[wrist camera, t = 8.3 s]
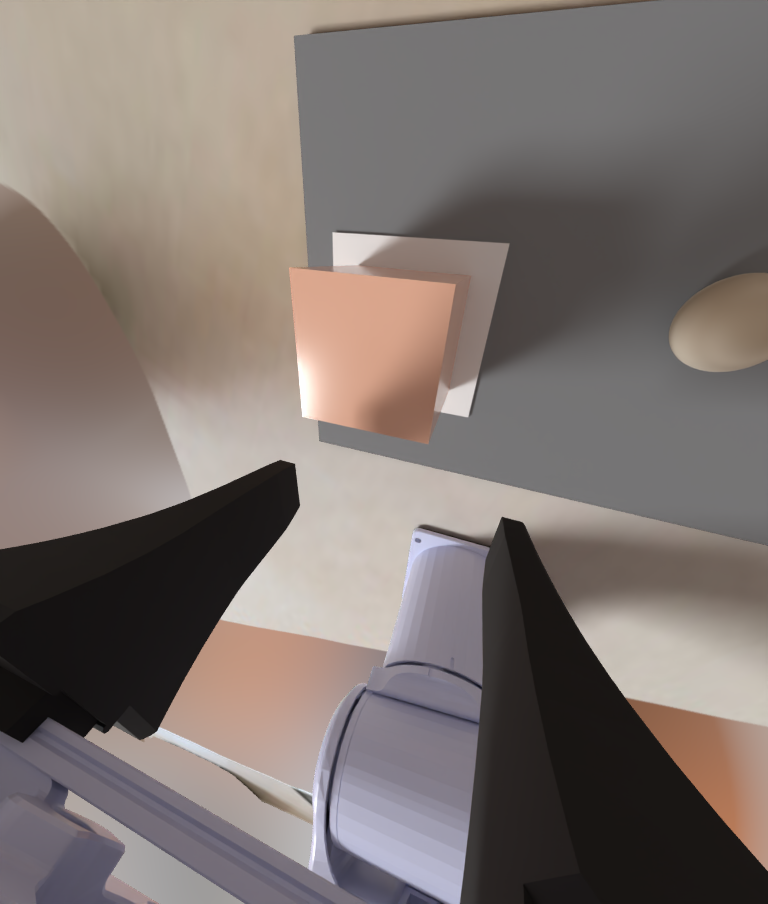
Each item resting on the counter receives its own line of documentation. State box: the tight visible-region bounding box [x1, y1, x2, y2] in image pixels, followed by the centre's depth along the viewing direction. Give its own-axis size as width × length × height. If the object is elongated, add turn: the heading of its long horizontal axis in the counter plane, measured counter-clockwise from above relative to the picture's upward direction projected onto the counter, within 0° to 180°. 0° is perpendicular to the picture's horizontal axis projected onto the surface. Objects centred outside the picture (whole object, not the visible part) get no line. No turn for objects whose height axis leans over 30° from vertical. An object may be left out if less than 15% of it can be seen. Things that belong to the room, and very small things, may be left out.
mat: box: [294, 0, 768, 546], centre depth 14 cm, size 18×27×1 cm, turn 86°
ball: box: [669, 273, 768, 372], centre depth 11 cm, size 3×3×3 cm
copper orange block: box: [289, 265, 472, 444], centre depth 13 cm, size 5×5×6 cm
